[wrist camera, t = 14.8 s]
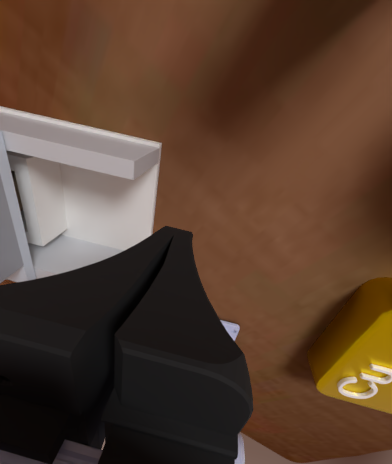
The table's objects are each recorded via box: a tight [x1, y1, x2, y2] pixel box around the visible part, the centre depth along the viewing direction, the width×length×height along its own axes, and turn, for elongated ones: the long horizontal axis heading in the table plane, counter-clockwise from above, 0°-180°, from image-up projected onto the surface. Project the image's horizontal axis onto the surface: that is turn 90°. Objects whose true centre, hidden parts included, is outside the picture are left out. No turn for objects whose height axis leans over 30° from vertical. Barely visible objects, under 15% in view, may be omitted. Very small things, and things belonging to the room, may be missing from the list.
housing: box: [0, 106, 162, 279], centre depth 20 cm, size 13×18×6 cm
